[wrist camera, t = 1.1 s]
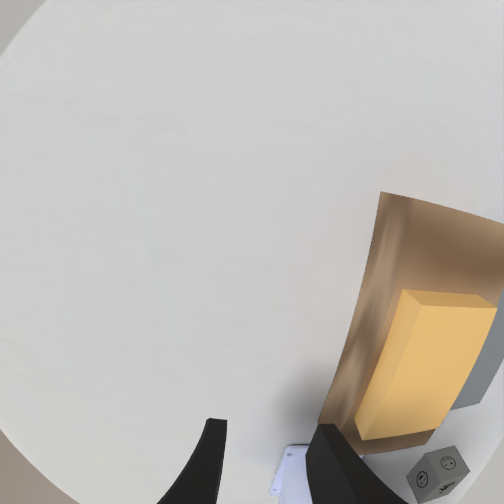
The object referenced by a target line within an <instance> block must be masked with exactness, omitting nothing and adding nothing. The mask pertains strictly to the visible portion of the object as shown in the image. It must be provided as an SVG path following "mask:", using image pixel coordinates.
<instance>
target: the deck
mask: <svg viewBox="0 0 504 504" xmlns="http://www.w3.org/2000/svg"><path fill="white" fill-rule="evenodd" d="M503 286H504V224H502V223H499V222H496V221H492V220H489V219H486V218H483V217H480V216H476V215H473V214H470V213H466V212H463V211H459V210H456V209H452V208H448V207H445V206H441V205H437V204H433V203H430V202H426V201H422V200H418V199H414V198H409V197H405V196H400V195H395V194H391V193H386V192H381V193H380V199H379V205H378V210H377V216H376V221H375V227H374V232H373V237H372V242H371V246H370V251H369V256H368V260H367V264H366V269H365V273H364V277H363V281H362V285H361V289H360V293H359V297H358V301H357V305H356V308H355V312H354V315H353V319H352V322H351V326H350V329H349V333H348V336H347V339H346V343H345V346H344V349H343V352H342V355H341V358H340V361H339V364H338V367H337V370H336V373H335V376H334V379H333V382H332V385H331V388H330V390H329V393H328V396H327V399H326V401H325V404H324V407H323V409H322V412H321V414H320V417H319V419H318V424H331V423H334V424H335V425H336V426H337V428H338V429H339V430H340V432H341V433H342V435H343V436H344V437H345V439H346V440H347V441H348V443H349V444H350V445H351V447H352V448H353V449H354V450H355V452H356V453H357V454H358V455H368V454H375V453H382V452H388V451H394V450H399V449H405V448H410V447H415V446H419V445H424V444H426V443H427V441H428V440H429V438H430V437H431V435H432V434H433V432H434V431H435V429H436V428H435V429H431V430H426V431H421V432H416V433H411V434H405V435H399V436H393V437H386V438H378V439H370V440H362V438H361V436H360V433H359V431H358V428H357V425H356V423H355V420H354V417H355V415H356V413H357V410H358V408H359V406H360V404H361V402H362V399H363V397H364V395H365V393H366V390H367V388H368V386H369V383H370V381H371V379H372V376H373V374H374V371H375V369H376V366H377V364H378V361H379V358H380V356H381V353H382V350H383V348H384V345H385V342H386V339H387V337H388V334H389V331H390V328H391V325H392V322H393V319H394V316H395V313H396V309H397V306H398V303H399V300H400V296H401V293H402V289H407V290H419V291H431V292H443V293H456V294H470V295H479V296H480V297H482V298H483V299H485V300H486V301H488V302H489V303H491V304H492V305H494V306H495V307H497V304H498V301H499V298H500V295H501V292H502V289H503Z"/></svg>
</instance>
